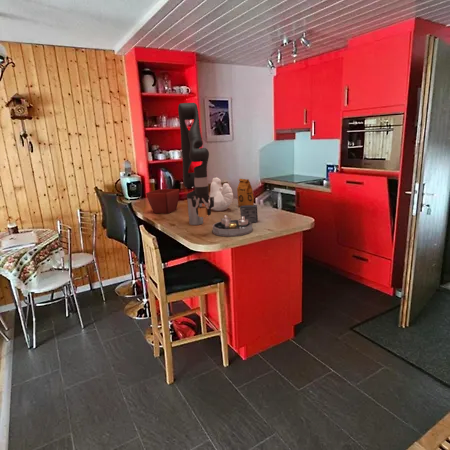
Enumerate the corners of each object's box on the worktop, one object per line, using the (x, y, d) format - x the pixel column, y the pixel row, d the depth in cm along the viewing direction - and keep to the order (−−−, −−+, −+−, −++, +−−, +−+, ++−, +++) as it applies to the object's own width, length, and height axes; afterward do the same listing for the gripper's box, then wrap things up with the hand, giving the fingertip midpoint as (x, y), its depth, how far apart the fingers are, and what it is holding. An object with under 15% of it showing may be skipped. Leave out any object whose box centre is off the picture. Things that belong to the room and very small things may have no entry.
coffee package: (245, 209, 258) (244, 180, 253) (236, 206, 269) (234, 179, 263) (256, 207, 263) (254, 178, 258) (246, 205, 274) (245, 177, 268)
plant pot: (147, 214, 262) (145, 192, 258) (162, 209, 279) (159, 188, 275) (168, 215, 255) (166, 192, 250) (181, 209, 271) (179, 188, 267)
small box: (258, 220, 221) (257, 204, 218) (257, 222, 215) (256, 206, 212) (241, 220, 223) (241, 205, 220) (240, 223, 216) (239, 207, 214)
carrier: (205, 231, 203) (204, 217, 201) (237, 224, 214) (236, 211, 212) (226, 239, 184) (225, 224, 182) (260, 231, 195) (259, 217, 193)
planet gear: (196, 215, 193) (195, 207, 191) (205, 214, 196) (205, 205, 194) (201, 217, 188) (201, 209, 186) (211, 215, 191) (210, 207, 190)
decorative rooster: (205, 209, 266) (203, 177, 260) (223, 206, 272) (221, 175, 266) (219, 215, 244) (216, 180, 238) (238, 211, 250) (236, 178, 244)
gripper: (216, 184, 187) (218, 213, 192) (194, 183, 194) (196, 212, 198) (209, 186, 181) (211, 217, 185) (186, 186, 187) (189, 215, 192)
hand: (203, 214), depth 192 cm, fingers closed on planet gear, 6 cm apart
